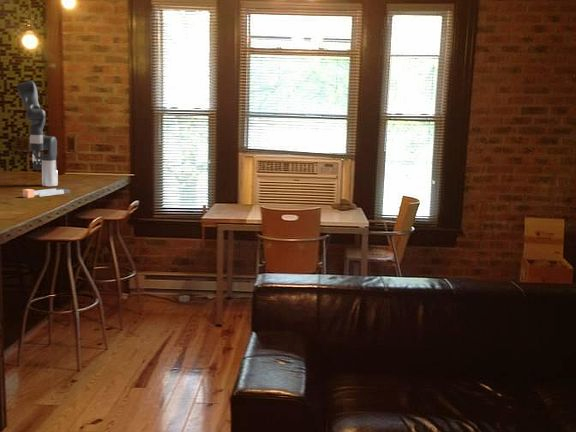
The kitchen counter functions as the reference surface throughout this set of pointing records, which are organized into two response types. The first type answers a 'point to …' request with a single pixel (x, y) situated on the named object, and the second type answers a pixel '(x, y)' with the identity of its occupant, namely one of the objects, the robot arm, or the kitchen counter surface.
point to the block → (28, 193)
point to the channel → (48, 192)
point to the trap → (64, 190)
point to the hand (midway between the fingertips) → (36, 169)
